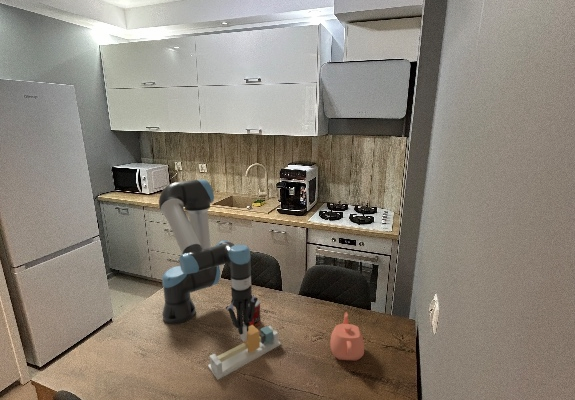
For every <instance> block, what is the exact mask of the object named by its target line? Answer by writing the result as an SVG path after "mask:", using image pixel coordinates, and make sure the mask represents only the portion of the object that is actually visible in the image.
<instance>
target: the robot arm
mask: <svg viewBox="0 0 575 400" xmlns="http://www.w3.org/2000/svg"><path fill="white" fill-rule="evenodd" d="M214 201H215V194H214V189H213V188H212V184H211V183H210V182H209V181H208V180H207V179H203V178H202V179H192V180H191V179H190V180H185V181H177V182H176V181H175V182H172V183H170V184H168V185H167V186H165V187H164V188H163V189H162V191H161V193H160V195H159V197H158V206H159V210H160V211H161V214H162V215H163V216H165V217H166V220H167V223H168V224H169V226H170V229H171V231H172V233H173V235H174V238H175V240H176V242H177V245H178V247H179V249H180V252H181V255H180V256H179V265H178V266H177V265H176V266H173V267H170V268H169V269H167V270H166V271H165V272H164V273H163V275H162V278H161V279H162V288H163V296H164V305H163V310H162V320H163V321H164V322H165V323H167V324H170V325H171V324H172V325H177V324H178V325H179V324H182V323H185V322H187V321H189V320H191V319H192V318H193V317H194V316H195V315H196V306H195V303H194V302H193V300H192V297H191V293H195V292H197V291H200V290H203V289H207V288H211V287H212V286H215V285H217V284H218V283H220V279H221V269H220V266H222V265H227V267H229V270H230V286H231V287H230V288H231V289H230V290H231V297H232V299H231V302H230V304H229V305H227V306H225V309H226V311H228V314H229V317H230V320H231V322H232V323H231V324H232V325H233V327H235V329H237V331H238V334H239V335H240V336H239V337H240V339H241V341H242V342H243V341H244V342H245V341H247V331H248V330H249V329H248V326H249V325H250V324H249V322H252V321H253V316H254V310H255V304H256V302H257V300H259V299H258V297H257V296H256V295H253V294H252V275H251V274H252V273H251V272H252V271H251V269H252V267H251V266H252V265H251V262H252V261H251V251H250V250H251V249H250V247H249V246H248V245H245V244H234V243H233V242H231V241H228V240H225V239H224V240H221V241H219V242H218V243H217V244H216V245H215V246H211V238H210V237H211V236H210V226H209V215H208V211H209V209H211V204H212V203H214ZM187 213H188V215H187ZM234 308H235V309H234ZM234 310H236V314H235V311H234Z"/></svg>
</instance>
